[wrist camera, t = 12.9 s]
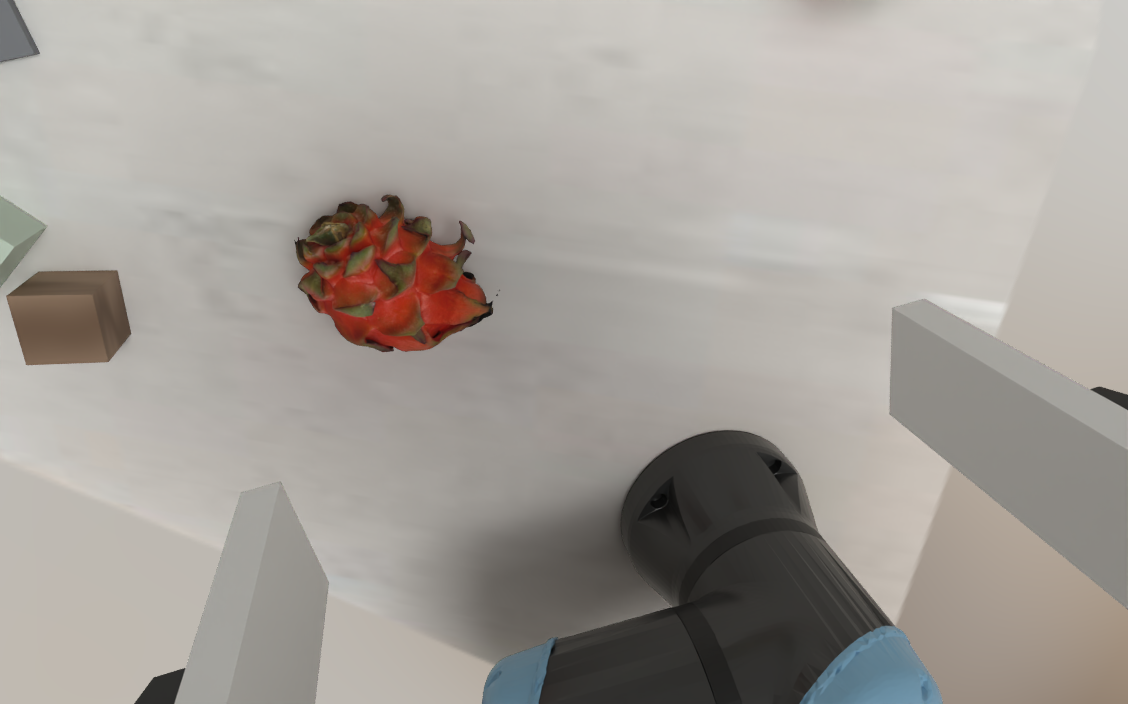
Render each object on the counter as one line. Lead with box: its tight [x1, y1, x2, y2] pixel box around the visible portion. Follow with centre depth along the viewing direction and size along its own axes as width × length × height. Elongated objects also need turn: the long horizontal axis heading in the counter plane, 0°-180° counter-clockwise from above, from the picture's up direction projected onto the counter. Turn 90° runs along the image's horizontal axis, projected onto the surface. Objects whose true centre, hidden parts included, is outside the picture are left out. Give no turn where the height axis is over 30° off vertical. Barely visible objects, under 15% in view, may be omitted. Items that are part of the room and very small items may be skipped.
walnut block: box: [6, 271, 131, 365], centre depth 40 cm, size 4×4×4 cm
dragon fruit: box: [294, 195, 500, 352], centre depth 42 cm, size 8×8×12 cm
